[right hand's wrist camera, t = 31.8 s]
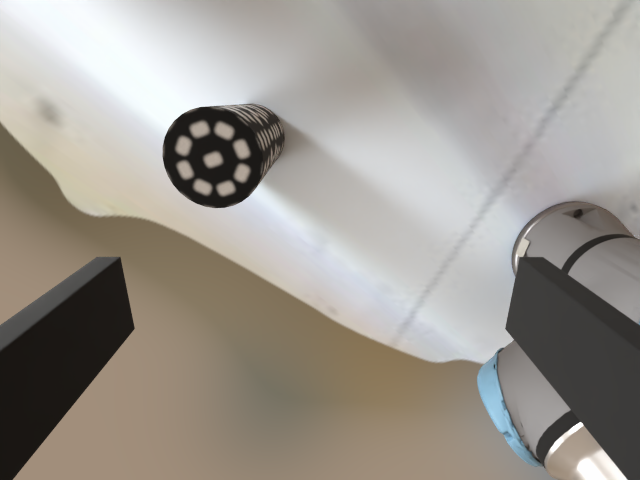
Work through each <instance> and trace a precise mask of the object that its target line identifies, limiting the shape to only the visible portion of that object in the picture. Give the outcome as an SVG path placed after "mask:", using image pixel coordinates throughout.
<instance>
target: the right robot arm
mask: <svg viewBox="0 0 640 480" xmlns="http://www.w3.org/2000/svg"><path fill="white" fill-rule="evenodd" d="M512 268H513V272H514V275H515V277H516V278H515V283H514V288H513V293H512V298H511V303H510V308H509V313H508V318H507V323H506V328H505V329H506V330H507V331H508V333H509V334H510V335H511V336H512V338H513V339H514V341H513V342H511V343H510V344H509V345H507V346H506V347H505V348H501V349H499V350H498V351H497V352H496V354H495V355H494V356H493V357H492V358H491V359H490V360H489V361H488V362H486V363H485V364H484V365H483V366H482V367H481V368H480V370H479V374H478V377H477V383H478V389H479V392H480V395H481V398H482V400H483V403H484V405H485V407H486V409H487V411H488V413H489V415H490V417H491V419H492V420H493V422H494V424H495V425H496V427H497V429H498V430H499V431H500V433H502V434H503V435H504V436H505V438H506V440H507V442H508V444H509V445H510V447H511V448H512V449H513V450H514V451H515V452H516V454H517V455H518V456H519V457H520V458H521V459H523V460H524V461H525V462H526V463H528V464H530V465H532V466H535V467H537V466H544V468H545V469H546V471H547V472H548V473H549V475H550V476H551V477H553V478H555V479H558V480H640V240H639V239H637V238H635V237H634V236H633V235H632V234H631V233H630V232H629V231H628V230H627V228H626V227H625V226H624V225H623V224H622V223H621V222H620V221H619V219H618V218H617V217H615V216H614V215H613V214H612V213H610V212H609V211H607V210H605V209H603V208H601V207H599V206H596V205H593V204H590V203H586V202H566V203H561V204H558V205H555V206H552V207H550V208H548V209H546V210H544V211H542V212H541V213H539V214H538V215H536V216H535V217H534V218H533V219H532V220H531V221H530V222H529V223H528V224H527V225H526V226H525V227H524V228H523V230H522V231H521V232H520V234H519V236H518V238H517V240H516V242H515V244H514V248H513V252H512ZM133 330H134V323H133V318H132V313H131V308H130V303H129V298H128V293H127V288H126V283H125V278H124V273H123V268H122V263H121V258H120V257H96V258H95V259H93V260H92V261H91V262H89V263H88V264H86V265H85V266H83V267H82V268H81V269H79V270H78V271H76V272H75V273H74V274H72V275H71V276H69V277H68V278H66V279H65V280H64V281H62V282H61V283H59V284H58V285H57V286H55V287H54V288H52V289H51V290H49V291H48V292H47V293H45V294H44V295H42V296H41V297H40V298H38V299H37V300H35V301H34V302H32V303H31V304H30V305H28V306H27V307H25V308H24V309H23V310H21V311H20V312H18V313H17V314H16V315H14V316H13V317H11V318H10V319H8V320H7V321H6V322H4V323H3V324H1V325H0V480H13V478H14V477H15V476H16V475H17V473H18V472H19V471H20V470H21V469H22V467H23V466H24V465H25V464H26V462H27V461H28V460H29V459H30V457H31V456H32V455H33V454H34V453H35V451H36V450H37V449H38V448H39V446H40V445H41V444H42V443H43V441H44V440H45V439H46V438H47V436H48V435H49V434H50V433H51V432H52V430H53V429H54V428H55V427H56V425H57V424H58V423H59V422H60V420H61V419H62V418H63V417H64V415H65V414H66V413H67V412H68V410H69V409H70V408H71V407H72V406H73V404H74V403H75V402H76V401H77V399H78V398H79V397H80V396H81V394H82V393H83V392H84V391H85V389H86V388H87V387H88V386H89V384H90V383H91V382H92V381H93V380H94V378H95V377H96V376H97V375H98V373H99V372H100V371H101V370H102V368H103V367H104V366H105V365H106V364H107V362H108V361H109V360H110V359H111V357H112V356H113V355H114V354H115V352H116V351H117V350H118V349H119V347H120V346H121V345H122V344H123V342H124V341H125V340H126V339H127V338H128V336H129V335H130V334H131V333H132V331H133Z"/></svg>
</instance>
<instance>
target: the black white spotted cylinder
mask: <svg viewBox="0 0 640 480" xmlns="http://www.w3.org/2000/svg"><path fill="white" fill-rule="evenodd" d="M283 146H284V131H283V127H282V125H281V123H280V121H279V119H278V118H277V116H276V115H275V114H274V113H273V112H272V111H270V110H269V109H267V108H266V107H263V106H261V105H256V104H242V105H226V106H210V107H199V108H195V109H192V110H189V111H187V112H186V113H184V114H182V115H181V116H180V117H178V118H177V119H176V120H175V121H174V122H173V124H172V125H171V126H170V128H169V129H168V132H167V134H166V136H165V139H164V144H163V161H164V166H165V169H166V172H167V174H168V177H169V178H170V180H171V182H172V183H173V185H174V186H175V187H176V188H177V189H178V191H179V192H180V193H181V194H183V195H184V196H185V197H186V198H188V199H189V200H191V201H193V202H195V203H197V204H200V205H202V206H205V207H212V208H225V207H229V206H233V205H236V204H238V203H240V202H242V201H243V200H245V199H246V198H247V197H249V196H250V194H251V193H252V192H253V191H254V190H255V189H256V187H257V186H258V184H259V183H260V182H261V180H262V179H263V178H264V176H265V175H266V173H267V172H268V171H269V169H270V168H271V166H272V165H273V164H274V162H275V161H276V160H277V158H278V157H279V155H280V153H281V152H282V149H283Z"/></svg>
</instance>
